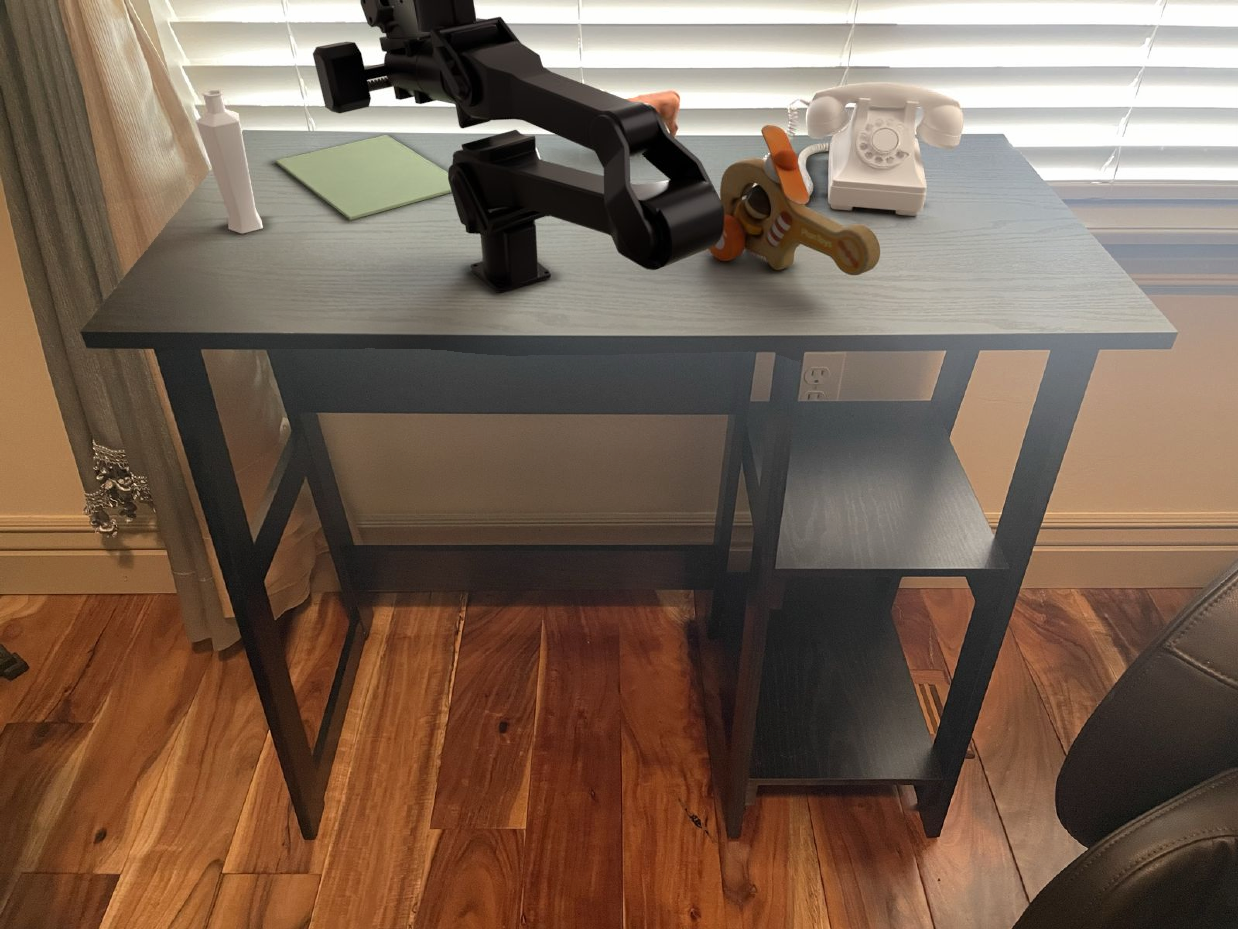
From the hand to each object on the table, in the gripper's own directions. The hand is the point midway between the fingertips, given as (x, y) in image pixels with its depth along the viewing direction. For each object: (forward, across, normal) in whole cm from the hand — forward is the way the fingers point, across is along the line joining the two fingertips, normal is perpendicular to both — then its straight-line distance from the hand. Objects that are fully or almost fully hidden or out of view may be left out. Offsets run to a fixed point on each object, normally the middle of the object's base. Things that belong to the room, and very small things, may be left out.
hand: (367, 58), depth 103 cm
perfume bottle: (+6, +17, +16) cm, 24 cm away
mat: (+10, -2, +15) cm, 18 cm away
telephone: (-30, -49, +21) cm, 61 cm away
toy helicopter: (-40, -23, +22) cm, 52 cm away
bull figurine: (-4, -34, +17) cm, 39 cm away
